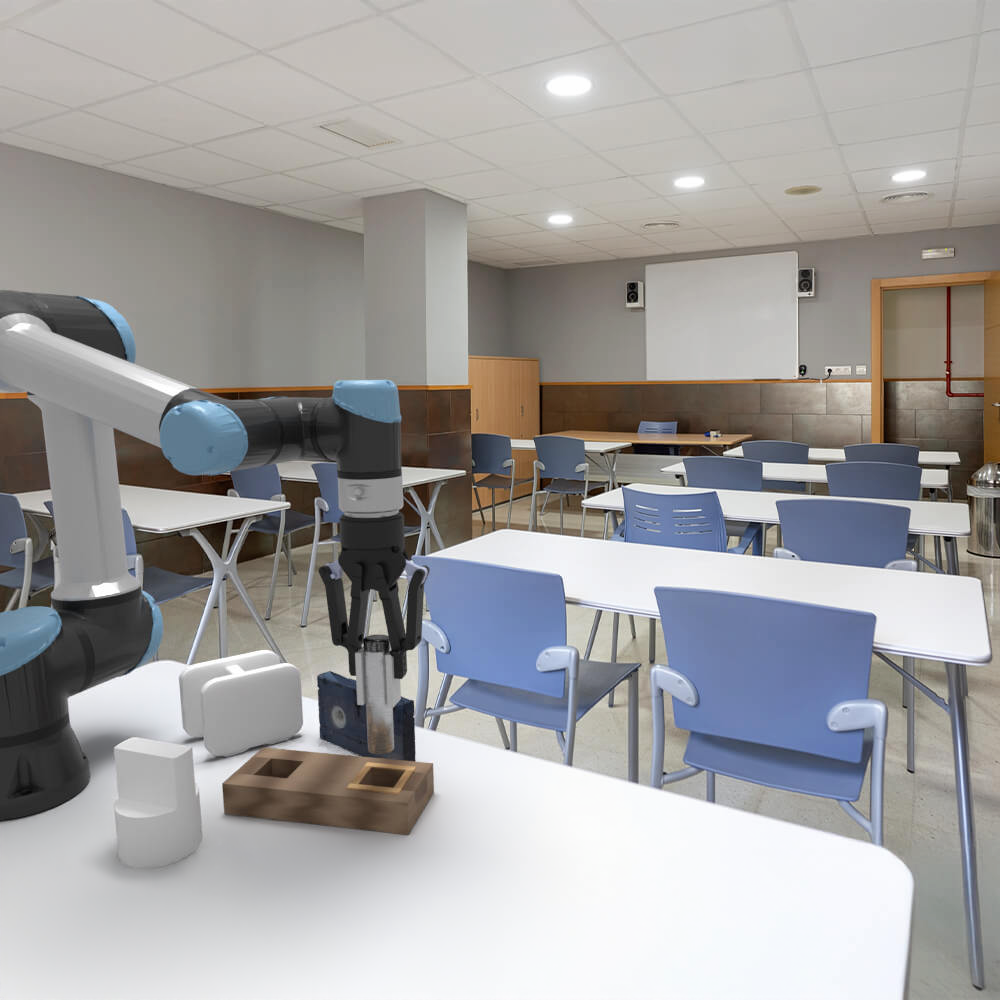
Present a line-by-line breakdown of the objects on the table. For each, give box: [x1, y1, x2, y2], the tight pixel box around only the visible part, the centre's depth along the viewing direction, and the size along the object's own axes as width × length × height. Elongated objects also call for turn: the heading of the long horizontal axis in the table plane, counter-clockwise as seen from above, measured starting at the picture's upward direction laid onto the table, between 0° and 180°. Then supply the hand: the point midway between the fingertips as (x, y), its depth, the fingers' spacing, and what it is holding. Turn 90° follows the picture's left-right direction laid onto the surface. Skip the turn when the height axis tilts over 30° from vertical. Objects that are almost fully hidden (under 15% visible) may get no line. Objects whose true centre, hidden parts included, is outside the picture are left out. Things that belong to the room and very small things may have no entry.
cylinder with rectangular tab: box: [113, 736, 203, 869], centre depth 93 cm, size 9×9×12 cm
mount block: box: [221, 747, 435, 836], centre depth 102 cm, size 24×10×4 cm, turn 77°
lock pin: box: [362, 634, 394, 754], centre depth 98 cm, size 3×3×14 cm
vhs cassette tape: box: [316, 670, 417, 762], centre depth 115 cm, size 18×3×10 cm, turn 49°
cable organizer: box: [178, 649, 304, 758], centre depth 121 cm, size 15×11×12 cm
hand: (379, 701), depth 99 cm, fingers closed on lock pin, 3 cm apart
